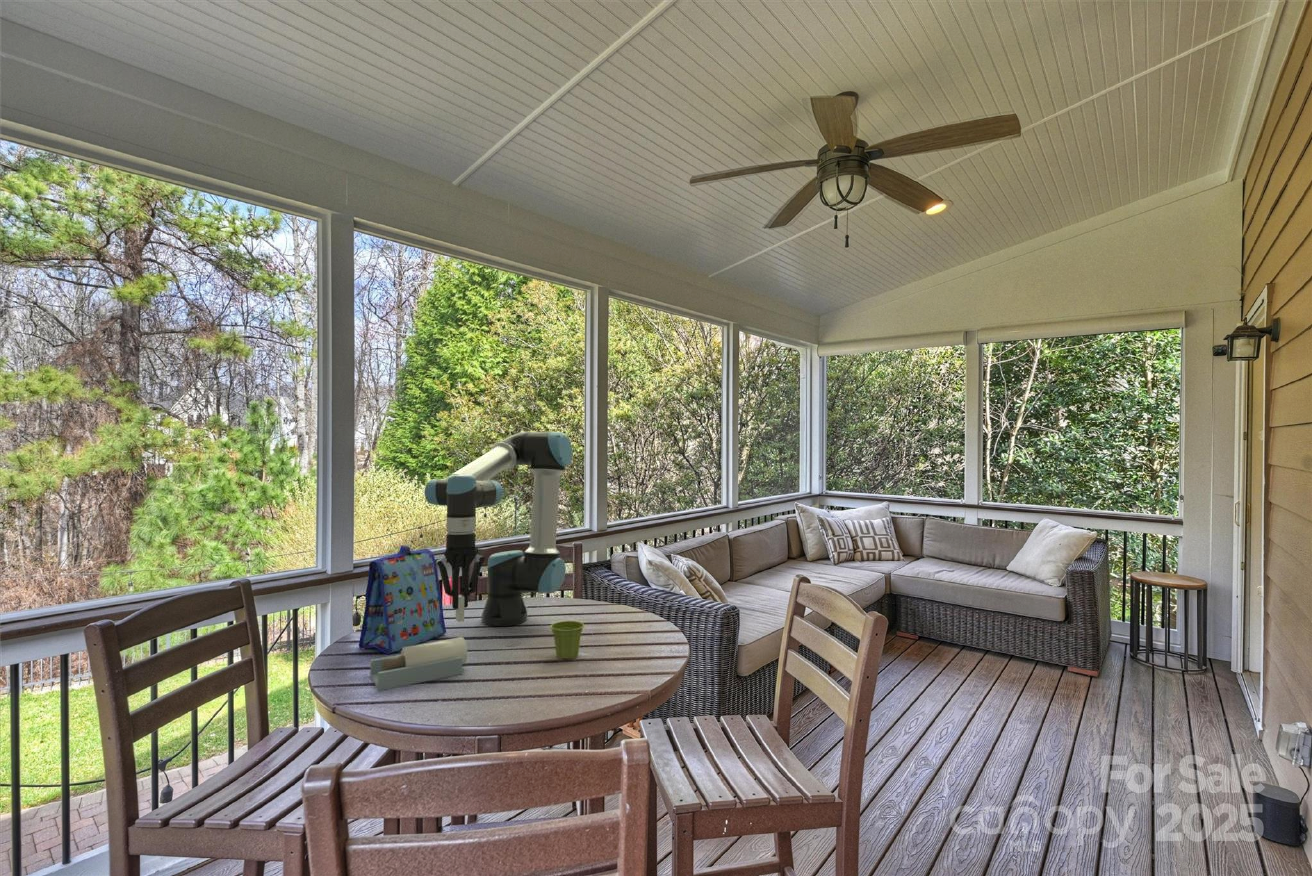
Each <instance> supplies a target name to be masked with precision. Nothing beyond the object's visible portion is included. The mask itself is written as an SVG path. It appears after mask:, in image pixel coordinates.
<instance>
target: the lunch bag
mask: <svg viewBox="0 0 1312 876" xmlns="http://www.w3.org/2000/svg"><path fill="white" fill-rule="evenodd" d="M435 561H436V557H435V555H434V553H433V551H432V550H430V549H428V548H422V549H416V550H411V548H410V546H408V545H404V544H403V545H401V546H400V547H399V551H398V552H397V553H395V554H391V555H387V556H382V557H380V558H377V559H374V560H371V561H370V562H369V566H368V578H367V585H366V590H365V606H364V613H363V617H362V624H361V630H360V636H359V641H358V647H359V649H362V648H365V649H370V648H371V649H372V648H373V649H374V648H375V649H377V650H379V651H380V652H382V653H384V654H385V655H387V654H388V655H390V654H392V653H395V652H398V651H401V649H402V648H403V647H408V646H414V645H419V644H422V643H424V642H426V641H427V642H428V641H429V640H432V639H435V638H436V637H440V636H442V635H445V634H447V627H446V623H445V617H444V609H443V601H442V600H443V599H442V596H441V595H442V594H441V588H440V580H439V574H438V573H439V571H438V566H437V564H436V563H435Z"/></svg>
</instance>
